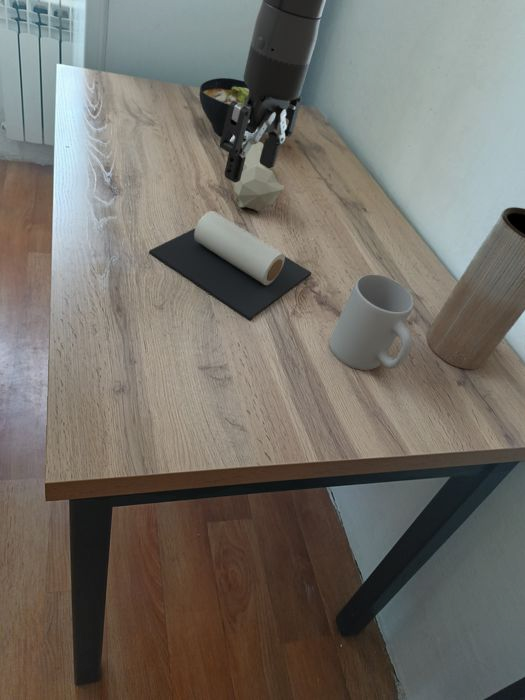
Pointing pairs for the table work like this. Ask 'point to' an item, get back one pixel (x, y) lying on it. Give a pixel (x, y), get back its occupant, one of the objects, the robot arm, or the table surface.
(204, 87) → the bowl
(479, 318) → the planter
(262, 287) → the mat
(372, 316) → the mug
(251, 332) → the table surface
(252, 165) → the faceted club
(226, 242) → the towel roll
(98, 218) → the table surface
